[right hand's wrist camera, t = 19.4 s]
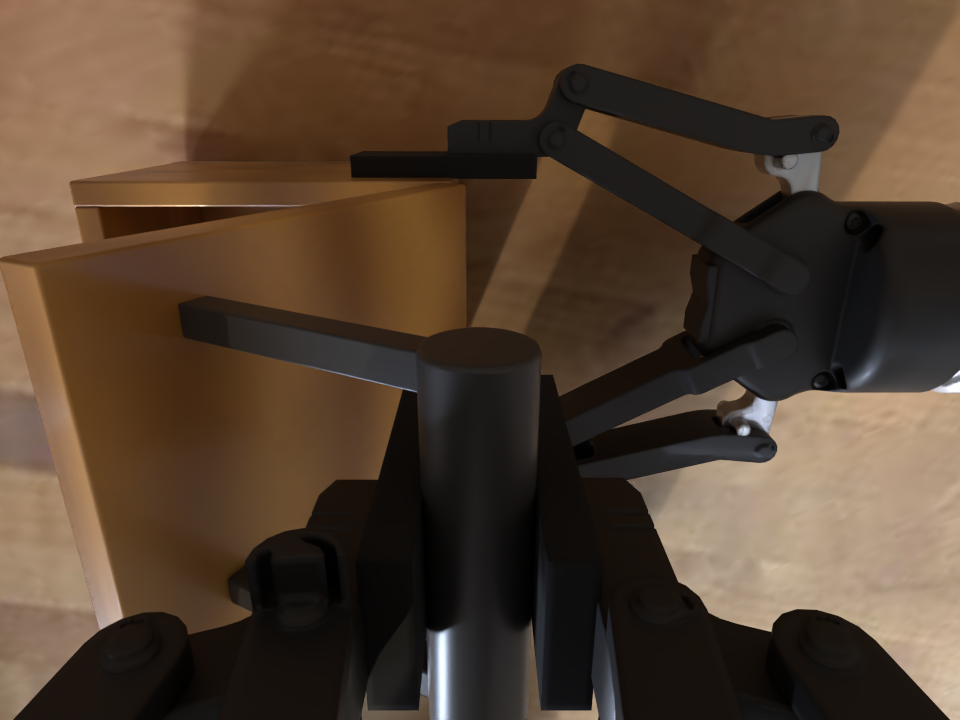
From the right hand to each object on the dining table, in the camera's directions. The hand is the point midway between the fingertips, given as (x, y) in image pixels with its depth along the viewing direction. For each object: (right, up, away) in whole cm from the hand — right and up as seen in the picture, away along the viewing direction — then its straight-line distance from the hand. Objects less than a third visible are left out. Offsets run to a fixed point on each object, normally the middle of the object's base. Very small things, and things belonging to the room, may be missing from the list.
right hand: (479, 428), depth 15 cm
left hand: (-4, +4, +10) cm, 12 cm away
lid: (-5, +1, +2) cm, 5 cm away
